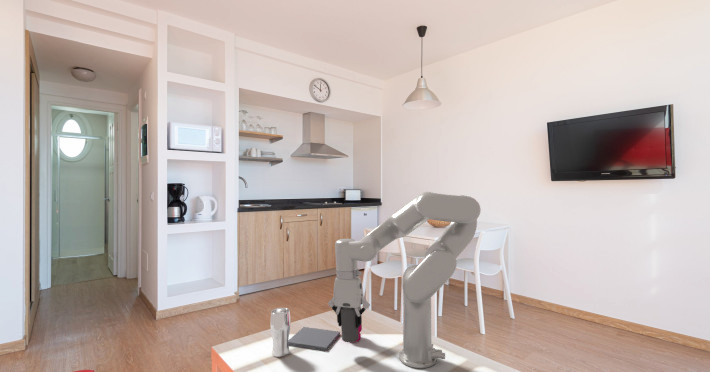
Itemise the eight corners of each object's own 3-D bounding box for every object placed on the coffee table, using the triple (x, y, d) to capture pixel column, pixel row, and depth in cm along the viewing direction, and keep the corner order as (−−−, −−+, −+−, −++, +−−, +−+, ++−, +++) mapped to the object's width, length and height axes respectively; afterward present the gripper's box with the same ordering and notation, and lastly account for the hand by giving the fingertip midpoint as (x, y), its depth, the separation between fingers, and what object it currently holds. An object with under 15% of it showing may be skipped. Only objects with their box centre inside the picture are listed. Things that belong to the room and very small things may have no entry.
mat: (340, 334, 135) (340, 331, 135) (326, 351, 122) (326, 347, 122) (303, 329, 140) (303, 326, 140) (286, 344, 127) (286, 341, 127)
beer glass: (294, 351, 122) (294, 309, 122) (280, 359, 116) (280, 316, 116) (280, 346, 126) (280, 306, 126) (266, 354, 120) (266, 312, 120)
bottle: (362, 338, 120) (359, 295, 120) (350, 344, 115) (348, 300, 115) (350, 333, 124) (348, 292, 124) (338, 339, 119) (336, 296, 119)
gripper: (373, 272, 120) (376, 323, 120) (328, 270, 126) (331, 319, 126) (367, 278, 113) (370, 332, 113) (320, 276, 119) (322, 328, 119)
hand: (349, 325), depth 119 cm, fingers closed on bottle, 5 cm apart
